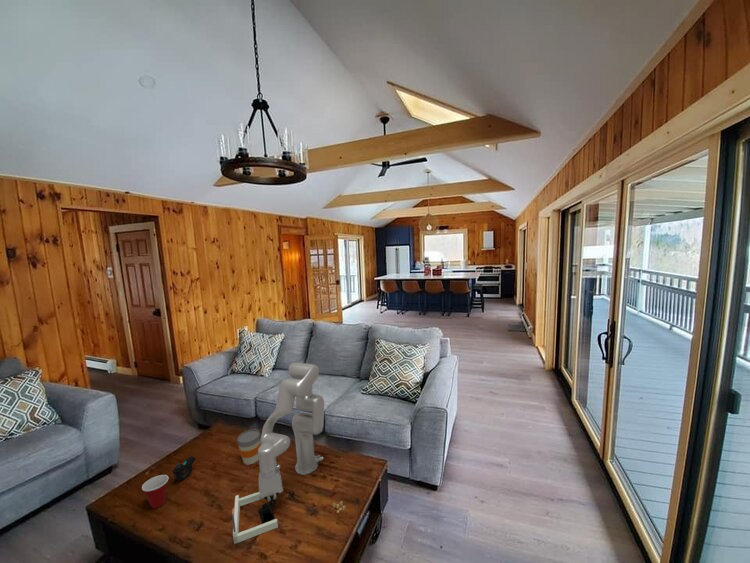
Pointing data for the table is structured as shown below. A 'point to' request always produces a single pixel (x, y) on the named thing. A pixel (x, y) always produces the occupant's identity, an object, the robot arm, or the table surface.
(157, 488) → the plastic cup
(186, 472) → the controller
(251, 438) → the reusable coffee cup
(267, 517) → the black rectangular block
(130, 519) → the table surface
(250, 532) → the frame
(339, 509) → the dice set
